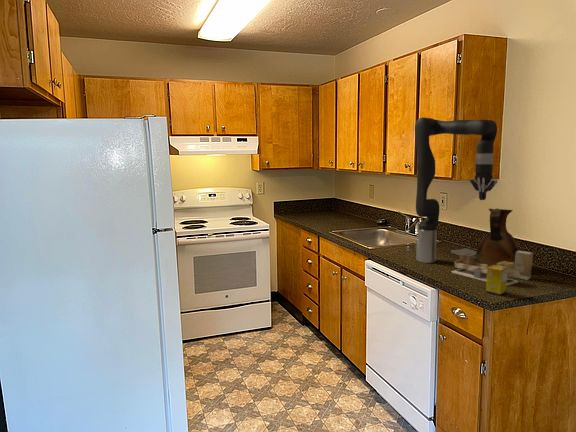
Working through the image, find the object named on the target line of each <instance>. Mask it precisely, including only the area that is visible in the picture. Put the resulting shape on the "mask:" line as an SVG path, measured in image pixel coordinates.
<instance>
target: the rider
mask: <svg viewBox="0 0 576 432" xmlns="http://www.w3.org/2000/svg"><path fill="white" fill-rule="evenodd" d="M459 260H460V261H459V263H462V264H467V265H472V266H473V265H474V262H475V261H474V255H471V254H466V253H464V254H460V256H459Z"/></svg>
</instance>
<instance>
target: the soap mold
mask: <svg viewBox="0 0 576 432" xmlns="http://www.w3.org/2000/svg"><path fill="white" fill-rule="evenodd" d="M476 252H477V250H473V249H470V248H461V249H451V251H450V253H451V254H454V255H457V256H459V257H460V254H464V253H466V254H471V255H474V262H475V261H477V258H476Z"/></svg>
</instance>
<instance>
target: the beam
mask: <svg viewBox="0 0 576 432" xmlns="http://www.w3.org/2000/svg"><path fill="white" fill-rule="evenodd" d="M459 261H460V259H456V260H454V263H453V264H454V267H455V268H459V269H467V270H472V271H474V270H480V271H481V273H486V274H487V267H489V266H488V265H485V264H481V263H479V262H475V261H474V265H473V266H472V265H467V264H462V263H459ZM497 265H498V266H503V267H508V271H507V278H508V279H509V278H510V277H513V276H514V275H516V273H515V272H514V263H513V262H507V261H503V262H499V263H497Z"/></svg>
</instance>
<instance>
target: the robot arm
mask: <svg viewBox="0 0 576 432" xmlns="http://www.w3.org/2000/svg"><path fill="white" fill-rule="evenodd" d="M443 134H445V135H447V134H449V135H459V136H460V135H461V136H468V135H470V136H471V135H474V136H475V135H476V136H481V138H480V140H479V141H478V142H477V145H476V155H475V169H474V170H475V175H474V178H473V179H470V180H469V182H470V184H471V185H472V187H473V188H474V190H475V191H477V192H478V199H479V200H480V201H486V199H487V192H490V191H491V190H492V189H493V188H494V187H495V186H496V185H497V184H498V181H497V180H495V179H494V177H493V170H494V143H495V140H496V137H497V134H498V125H497V123H496V121H494V120H493V119H455V120H439V119H434V118H431V117H420V118H418V119H417V120H416V122H415V124H414V135H415V143H416V144H415V145H416V196H415V213H416V215H417V216H418V217H419V218H425V219H424V220H423V221H422V222H419V223H418V228H417V229H418V230H417V231H418V233H417V235H418V236H417V242H416V251H415V260H416V261H417V262H420V263H426V264H431V263H435V262H436V261H437V257H436V255H437V232H438V231H437V230H438V226H439V219H440V204H439V201H438V200H437V199H435V198H428V197H427V194H428V190H429V188H430V185H431V183H432V182H433V180H434V178H435V176H436V159H435V156H434V153H433V151H432V149H431V146H430V137H431V136H435V135H443Z"/></svg>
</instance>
